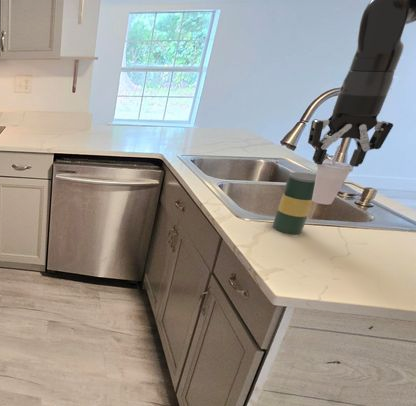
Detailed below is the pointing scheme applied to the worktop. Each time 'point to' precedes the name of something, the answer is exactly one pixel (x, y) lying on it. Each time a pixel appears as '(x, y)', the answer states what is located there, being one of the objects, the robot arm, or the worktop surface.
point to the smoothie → (330, 179)
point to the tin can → (295, 203)
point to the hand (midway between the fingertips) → (335, 164)
